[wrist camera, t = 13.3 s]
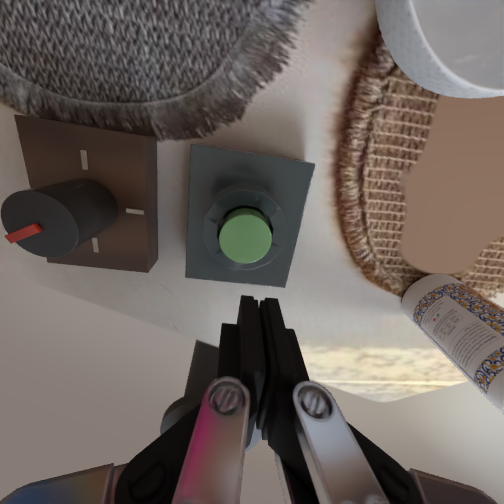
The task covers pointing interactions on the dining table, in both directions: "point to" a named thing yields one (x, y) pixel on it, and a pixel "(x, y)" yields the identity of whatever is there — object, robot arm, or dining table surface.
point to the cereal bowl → (447, 44)
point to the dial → (58, 216)
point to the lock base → (106, 173)
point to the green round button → (245, 235)
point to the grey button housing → (243, 196)
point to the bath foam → (461, 329)
